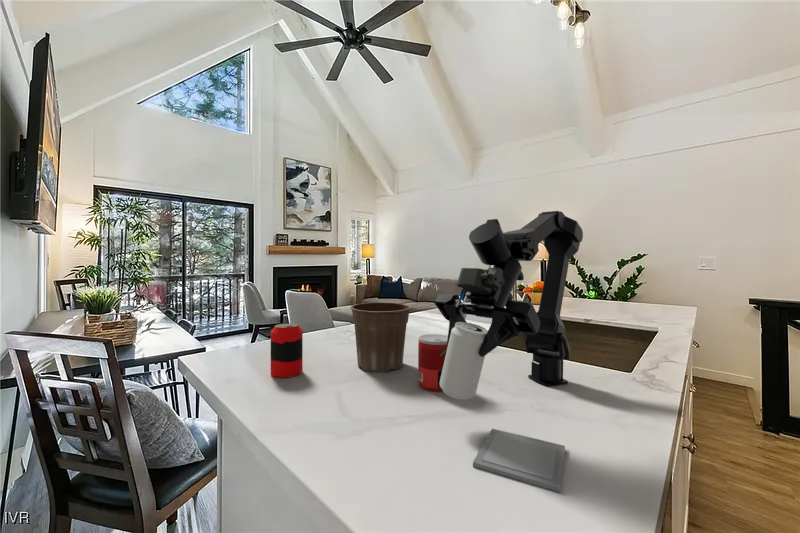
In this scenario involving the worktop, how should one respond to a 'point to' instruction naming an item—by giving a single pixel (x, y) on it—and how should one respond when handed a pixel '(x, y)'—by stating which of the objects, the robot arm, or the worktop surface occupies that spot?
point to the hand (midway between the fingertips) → (463, 351)
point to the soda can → (286, 350)
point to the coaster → (522, 459)
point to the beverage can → (463, 361)
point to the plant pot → (380, 335)
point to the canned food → (431, 361)
